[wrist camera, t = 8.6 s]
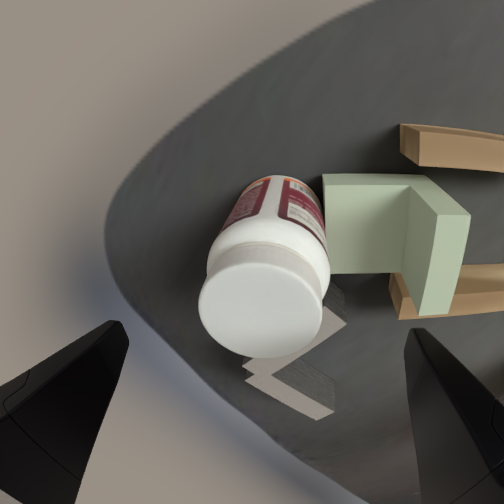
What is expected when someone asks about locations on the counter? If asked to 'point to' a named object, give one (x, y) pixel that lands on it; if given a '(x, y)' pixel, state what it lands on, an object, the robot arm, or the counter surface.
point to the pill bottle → (268, 271)
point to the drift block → (397, 233)
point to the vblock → (302, 367)
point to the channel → (465, 157)
